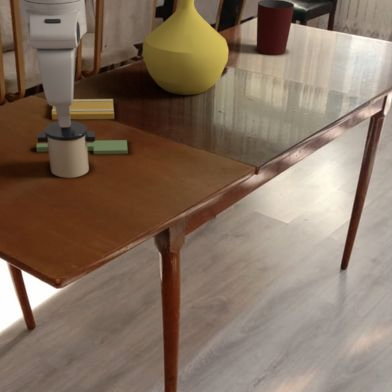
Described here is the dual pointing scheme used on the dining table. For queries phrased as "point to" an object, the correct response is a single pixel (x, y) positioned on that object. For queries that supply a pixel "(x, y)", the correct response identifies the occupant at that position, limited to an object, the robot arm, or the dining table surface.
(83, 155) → the pot
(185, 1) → the vase
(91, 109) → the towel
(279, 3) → the mug
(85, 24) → the robot arm
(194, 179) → the dining table surface
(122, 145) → the spatula
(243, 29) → the dining table surface
